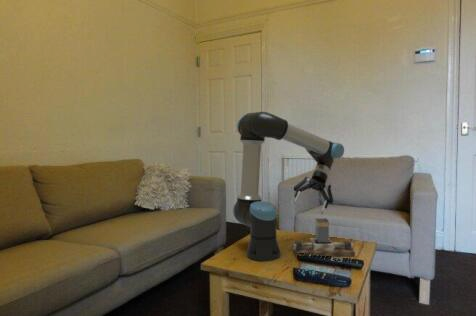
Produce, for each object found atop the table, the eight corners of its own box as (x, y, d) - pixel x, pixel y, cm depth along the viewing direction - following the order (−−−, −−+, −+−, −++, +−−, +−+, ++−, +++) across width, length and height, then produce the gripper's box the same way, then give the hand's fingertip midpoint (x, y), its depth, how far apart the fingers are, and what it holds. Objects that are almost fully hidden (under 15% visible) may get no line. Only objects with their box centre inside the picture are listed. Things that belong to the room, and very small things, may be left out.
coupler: (317, 249, 153) (317, 221, 152) (315, 245, 158) (315, 218, 157) (328, 249, 153) (329, 221, 152) (326, 245, 158) (326, 218, 157)
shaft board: (294, 257, 150) (294, 245, 149) (290, 247, 162) (290, 237, 161) (356, 256, 149) (356, 244, 149) (347, 247, 161) (347, 236, 161)
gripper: (342, 187, 177) (331, 220, 165) (296, 171, 184) (283, 202, 172) (345, 179, 171) (335, 212, 159) (298, 163, 178) (284, 194, 166)
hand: (308, 207), depth 165 cm, fingers open, 13 cm apart
